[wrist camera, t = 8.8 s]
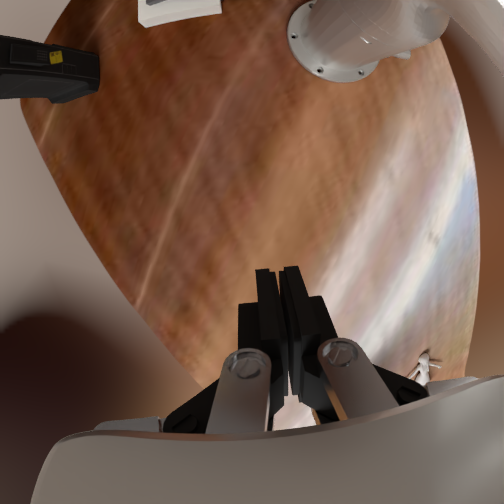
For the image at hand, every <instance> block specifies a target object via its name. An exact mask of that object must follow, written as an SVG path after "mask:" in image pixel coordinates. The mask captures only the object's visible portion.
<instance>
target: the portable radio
mask: <svg viewBox="0 0 504 504" xmlns="http://www.w3.org/2000/svg"><path fill="white" fill-rule="evenodd" d="M98 87H99V57H98V56H97V55H95V53H92V52H87V51H82V50H77V49H73V48H69V47H65V46H60V45H56V44H52V45H48V44H44V43H39V42H34V41H31V40H26V39H21V38H16V37H10V36H3V35H0V99H10V98H11V99H12V98H48V99H49V100H50V101H51V103H66V102H68V101H71V100H74V99H77V98H79V97H82V96H85V95H88V94H91V93H94V92H97V91H98Z"/></svg>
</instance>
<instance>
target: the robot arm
mask: <svg viewBox="0 0 504 504" xmlns="http://www.w3.org/2000/svg"><path fill="white" fill-rule="evenodd" d="M310 7H311V8H312V9H311V8H310ZM450 16H451V17H452V18H453V19H454V20H455V21H456V22H457V23H458V24H459V25H460V26H461V27H462V28H463V29H464V30H465V31H466V32H467V33H468V34H469V35H470V36H471V37H473V39H474V40H475V41H476V42H477V43H478V45H479V46H480V47H481V48H482V49H483V51H484V52H485V53H486V54H487V56H488V57H489V58H490V59H491V61H492V62H493V63H494V65H495V66H496V67H497V69H498V70H499V72H500V73H501V74H502V76H503V77H504V0H312V1H310V2H307V3H305V4H303V5H302V6H300V7H299V8H298V9H297V10H296V11H295V12H294V13H293V15H292V16H291V18H290V21H289V23H288V27H287V41H288V44H289V48H290V50H291V51H292V53H293V55H294V57H295V58H296V59H297V61H298V62H299V63H300V64H301V65H302V66H303V67H304V68H305V69H306V70H308V71H309V72H311V73H312V74H313V75H315V76H317V77H319V78H321V79H324V80H328V81H331V82H337V83H349V82H353V81H357V80H360V79H363V78H364V77H366V76H368V75H369V74H370V73H371V72H372V71H373V70H374V69H375V68H376V66H377V65H378V63H379V60H381V59H383V58H388V57H389V56H395V57H396V58H401V59H406V60H407V59H409V58H410V55H411V51H410V50H411V49H414V48H418V47H420V46H424V45H427V44H429V43H431V42H433V41H435V40H436V39H438V38H439V37H440V36H441V35H442V33H443V32H444V31H445V29H446V27H447V25H448V22H449V18H450ZM292 36H294V37H295V39H294V38H292ZM317 69H319V70H320V73H319V72H317ZM358 72H360V75H359V74H358ZM255 271H256V283H257V295H258V302H254V303H242V304H239V305H238V350H237V351H235V352H233V353H231V354H230V355H229V356H228V357H227V358H226V359H225V361H224V364H223V367H222V371H221V375H220V378H219V379H217V380H216V381H215V382H213V383H212V384H211V385H209V386H208V387H207V388H205V389H204V390H203V391H201V392H200V393H199V394H197V395H196V396H194V397H193V398H192V399H190V400H189V401H187V402H186V403H185V404H183V405H182V406H180V407H179V408H177V409H176V410H175V411H173V412H172V413H171V414H170V415H168V416H167V418H163V419H159V417H158V416H156V417H149V418H140V419H130V420H119V421H107V422H103V423H101V424H99V425H98V426H96V428H95V429H94V430H93V431H87V432H82V433H77V434H74V435H70V436H67V437H65V438H63V439H61V440H60V441H59V442H57V443H56V444H55V446H54V447H53V448H52V450H51V451H50V453H49V454H48V456H47V458H46V460H45V462H44V464H43V467H42V469H41V472H40V474H39V477H38V480H37V483H36V487H35V489H34V493H33V496H32V500H31V504H504V375H494V376H489V377H484V378H481V379H478V378H475V377H463V378H457V379H450V380H442V381H433V382H426V384H425V385H423V386H422V385H421V384H420V383H418V382H416V381H414V380H411V379H408V378H406V377H403V376H401V375H398V374H396V373H393V372H391V371H388V370H386V369H384V368H381V367H379V366H376V365H374V364H372V363H371V362H370V360H369V359H368V357H367V356H366V354H365V353H364V351H363V350H362V348H361V347H360V346H359V345H358V344H357V343H356V342H354V341H352V340H350V339H346V338H338V336H337V333H336V331H335V328H334V326H333V323H332V320H331V318H330V315H329V313H328V310H327V308H326V305H325V303H324V300H323V298H322V296H312V297H309V296H308V293H307V290H306V287H305V284H304V281H303V279H302V276H301V273H300V270H299V267H298V266H289V267H284V271H279V286H280V295H279V290H278V285H277V280H276V275H275V272H270V271H269V269H258V270H255ZM288 371H289V377H290V383H291V390H292V395H298V398H299V403H300V402H302V403H304V404H305V405H307V406H309V407H311V411H312V415H313V417H314V420H315V422H316V425H315V426H308V427H301V428H294V429H285V430H276V431H274V422H275V414H276V413H277V412H278V411H279V410H280V409H281V408H282V407H283V406H284V396H288Z"/></svg>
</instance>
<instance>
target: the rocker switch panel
mask: <svg viewBox="0 0 504 504" xmlns="http://www.w3.org/2000/svg"><path fill="white" fill-rule="evenodd" d="M219 13H222V8H221V0H166V1H163V2H160V3H157V4H154V5H151V6H149V5H147V4H146V0H138V22H140V23H141V24H142V25H143V26H144V27H145V28H147V27H151V26H155V25H159V24H163V23H167V22H172V21H176V20H181V19H187V18H192V17H198V16H205V15H212V14H219Z"/></svg>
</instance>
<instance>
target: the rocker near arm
mask: <svg viewBox="0 0 504 504" xmlns="http://www.w3.org/2000/svg"><path fill="white" fill-rule="evenodd" d="M163 1H166V0H146V4H147V5H149V6H151V5H154V4H157V3H160V2H163Z"/></svg>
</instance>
